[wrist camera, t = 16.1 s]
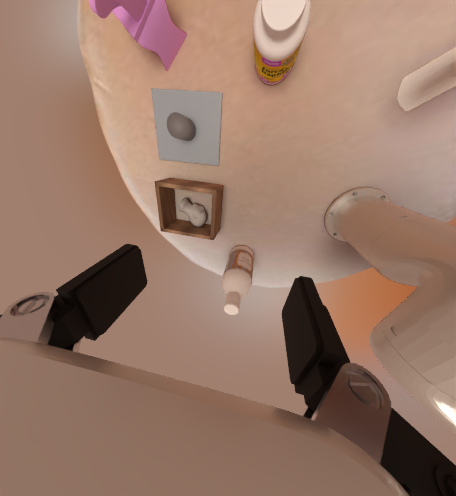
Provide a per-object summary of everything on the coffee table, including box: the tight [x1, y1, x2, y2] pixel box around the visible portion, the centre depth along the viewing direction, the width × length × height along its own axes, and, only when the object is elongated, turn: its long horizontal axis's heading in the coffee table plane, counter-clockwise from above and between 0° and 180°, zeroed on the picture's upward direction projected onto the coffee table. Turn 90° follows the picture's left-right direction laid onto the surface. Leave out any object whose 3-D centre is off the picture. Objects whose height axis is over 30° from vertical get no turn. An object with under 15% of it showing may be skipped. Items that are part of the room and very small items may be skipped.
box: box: [155, 178, 223, 240], centre depth 40 cm, size 14×12×7 cm
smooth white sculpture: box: [179, 198, 207, 227], centre depth 42 cm, size 4×8×5 cm
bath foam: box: [222, 246, 254, 315], centre depth 39 cm, size 7×7×20 cm
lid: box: [151, 88, 222, 166], centre depth 33 cm, size 14×12×6 cm
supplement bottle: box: [253, 0, 310, 85], centre depth 22 cm, size 7×7×13 cm
